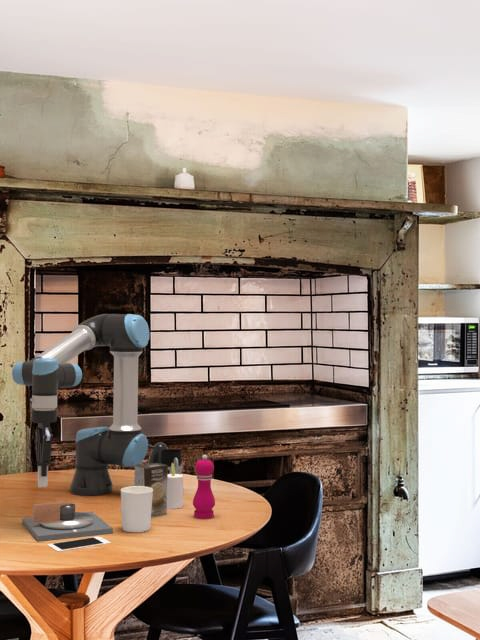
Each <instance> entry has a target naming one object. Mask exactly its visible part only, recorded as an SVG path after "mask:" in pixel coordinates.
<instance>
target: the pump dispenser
mask: <svg viewBox="0 0 480 640" xmlns="http://www.w3.org/2000/svg"><path fill="white" fill-rule="evenodd" d="M148 448H150V449H151V451H150V454H149V457H148V460H147V464H151V463H161V450H165V449H169V448H168V446H167V444H165V443H164V442H161V441H160V442H157V443H155V444H154V445H152V444H149V443H148Z"/></svg>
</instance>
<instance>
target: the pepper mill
mask: <svg viewBox="0 0 480 640" xmlns="http://www.w3.org/2000/svg"><path fill="white" fill-rule="evenodd" d="M208 457H209V456H208V454H202V456H201V458H202V459H200V460H198V461H196V463H195V468H194V469H195V471H196V473H197V474H196V480H197V489H196V492H195V494H194V496H193V500H192V506H193V507H194V509H195V510H194V512H193V517H194V518H196V519H201V520H202V519H203V520H204V519H205V520H206V519H211V518H213V517H214V510H213V508H214V507H215V506H216V499H215V495H214V493H213V491H212V488H211V487H212V486H211V482H212V480H213V474H212V473H213V472H214V471H215V466H214V463H213V461H212V460H210V459H208Z"/></svg>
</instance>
